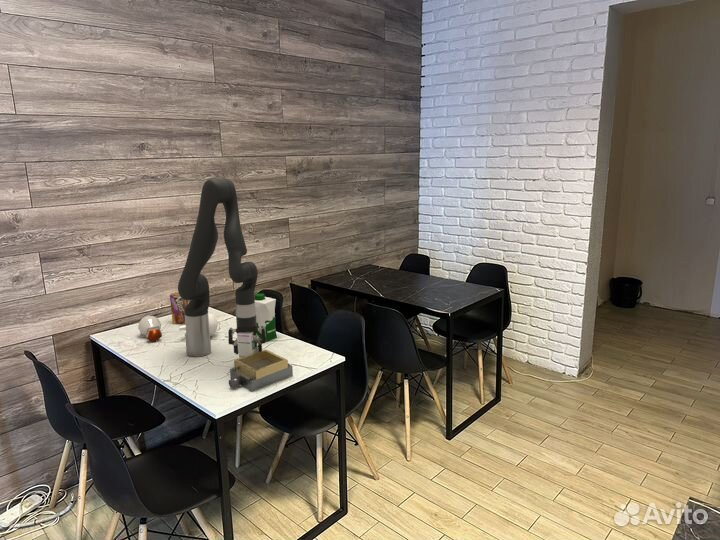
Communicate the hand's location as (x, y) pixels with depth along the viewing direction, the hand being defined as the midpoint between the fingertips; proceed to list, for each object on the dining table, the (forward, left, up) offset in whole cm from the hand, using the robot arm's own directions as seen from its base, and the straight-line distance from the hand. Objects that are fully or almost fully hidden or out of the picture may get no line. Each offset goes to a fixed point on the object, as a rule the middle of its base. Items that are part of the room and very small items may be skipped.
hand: (248, 353), depth 195 cm
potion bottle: (-47, +35, -5) cm, 59 cm away
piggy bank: (-26, +34, -5) cm, 43 cm away
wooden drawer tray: (+4, -12, -5) cm, 14 cm away
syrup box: (0, 0, -5) cm, 5 cm away
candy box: (-38, +53, -5) cm, 65 cm away
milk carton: (+4, +29, -5) cm, 30 cm away
